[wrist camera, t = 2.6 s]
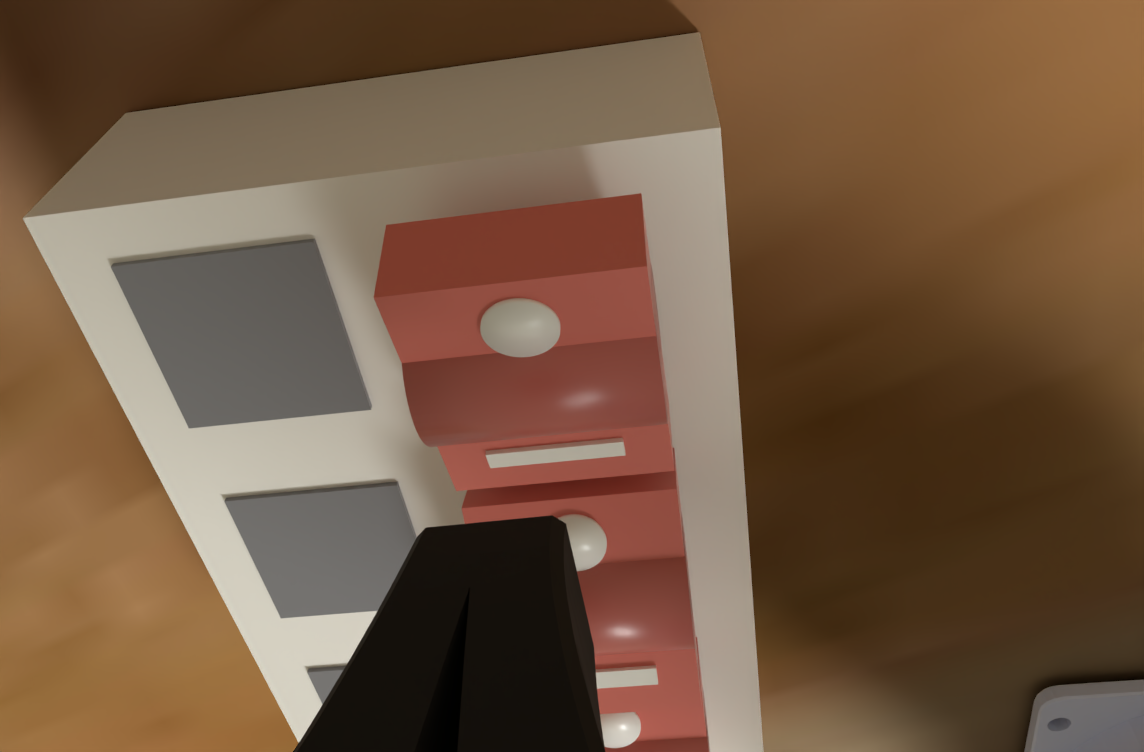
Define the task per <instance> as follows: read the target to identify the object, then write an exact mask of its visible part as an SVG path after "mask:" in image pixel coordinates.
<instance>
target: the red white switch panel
mask: <svg viewBox="0 0 1144 752" xmlns="http://www.w3.org/2000/svg"><path fill="white" fill-rule="evenodd" d="M640 193H641V194H642V202H643V209H644V217H645V224H646V232H647V240H648V247H649V255H650V263H651V265H652V271H653V278H654V285H655V293H656V301H657V309H658V318H659V327H660V336H661V346H662V354H663V362H664V370H665V377H666V385H667V393H668V400H669V411H670V423H671V435H672V447H673V448H674V450H675V459H676V468H677V477H678V485H679V494H680V503H681V512H682V518H683V525H684V533H685V542H686V551H687V560H688V570H689V579H690V590H691V600H692V609H693V617H694V626H695V635H696V637H697V641H698V650H699V659H700V667H701V676H702V685H703V691H704V699H705V707H706V717H707V726H708V736H709V746H710V752H763V739H762V725H761V710H760V695H759V681H758V666H757V652H756V637H755V622H754V608H753V593H752V579H751V564H750V549H749V535H748V520H747V506H746V491H745V476H744V462H743V447H742V433H741V418H740V403H739V389H738V374H737V360H736V345H735V330H734V316H733V301H732V287H731V272H730V257H729V243H728V228H727V214H726V199H725V184H724V170H723V155H722V140H721V127H720V122H719V118H718V113H717V109H716V104H715V99H714V95H713V90H712V86H711V81H710V77H709V72H708V67H707V63H706V58H705V54H704V49H703V44H702V40H701V35H700V32H697V33H690V34H683V35H676V36H669V37H662V38H655V39H648V40H640V41H633V42H626V43H619V44H612V45H605V46H598V47H591V48H584V49H577V50H569V51H562V52H555V53H548V54H541V55H534V56H527V57H520V58H513V59H505V60H498V61H491V62H484V63H477V64H470V65H463V66H456V67H449V68H442V69H434V70H427V71H420V72H413V73H406V74H399V75H392V76H385V77H378V78H370V79H363V80H356V81H349V82H342V83H335V84H328V85H321V86H314V87H307V88H299V89H292V90H285V91H278V92H271V93H264V94H257V95H250V96H243V97H235V98H228V99H221V100H214V101H207V102H200V103H193V104H186V105H179V106H172V107H164V108H157V109H150V110H143V111H136V112H129V113H125V114H124V115H123V116H122V117H121V118H120V119H119V120H118V121H117V122H116V123H115V124H114V125H113V126H112V127H111V128H110V129H109V130H108V131H107V133H106V134H105V135H104V136H103V137H102V138H101V139H100V140H99V141H98V142H97V143H96V144H95V145H94V146H93V147H92V148H91V149H90V150H89V151H88V152H87V153H86V154H85V155H84V156H83V157H82V158H81V159H80V160H79V161H78V162H77V163H76V164H75V165H74V166H73V167H72V168H71V169H70V170H69V171H68V172H67V173H66V174H65V175H64V176H63V177H62V178H61V179H60V180H59V181H58V182H57V183H56V184H55V186H54V187H53V188H52V189H51V190H50V191H49V192H48V193H47V194H46V195H45V196H44V197H43V198H42V199H41V200H40V201H39V202H38V203H37V204H36V205H35V206H34V207H33V208H32V209H31V210H30V211H29V212H28V213H27V214H26V215H25V216H24V217H23V220H24V222H25V224H26V226H27V227H28V229H29V231H30V233H31V235H32V237H33V239H34V241H35V243H36V245H37V246H38V248H39V250H40V252H41V254H42V256H43V258H44V260H45V262H46V264H47V265H48V267H49V269H50V271H51V273H52V275H53V277H54V279H55V281H56V283H57V284H58V286H59V288H60V290H61V292H62V294H63V296H64V298H65V300H66V302H67V303H68V305H69V307H70V309H71V311H72V313H73V315H74V317H75V319H76V321H77V322H78V324H79V326H80V328H81V330H82V332H83V334H84V336H85V338H86V340H87V341H88V343H89V345H90V347H91V349H92V351H93V353H94V355H95V357H96V359H97V360H98V362H99V364H100V366H101V368H102V370H103V372H104V374H105V376H106V378H107V379H108V381H109V383H110V385H111V387H112V389H113V391H114V393H115V395H116V397H117V398H118V400H119V402H120V404H121V406H122V408H123V410H124V412H125V414H126V416H127V418H128V419H129V421H130V423H131V425H132V427H133V429H134V431H135V433H136V435H137V437H138V438H139V440H140V442H141V444H142V446H143V448H144V450H145V452H146V454H147V456H148V457H149V459H150V461H151V463H152V465H153V467H154V469H155V471H156V473H157V475H158V476H159V478H160V480H161V482H162V484H163V486H164V488H165V490H166V492H167V494H168V495H169V497H170V499H171V501H172V503H173V505H174V507H175V509H176V511H177V513H178V514H179V516H180V518H181V520H182V522H183V524H184V526H185V528H186V530H187V532H188V533H189V535H190V537H191V539H192V541H193V543H194V545H195V547H196V549H197V551H198V552H199V554H200V556H201V558H202V560H203V562H204V564H205V566H206V568H207V570H208V571H209V573H210V575H211V577H212V579H213V581H214V583H215V585H216V587H217V589H218V590H219V592H220V594H221V596H222V598H223V600H224V602H225V604H226V606H227V608H228V609H229V611H230V613H231V615H232V617H233V619H234V621H235V623H236V625H237V627H238V628H239V630H240V632H241V634H242V636H243V638H244V640H245V642H246V644H247V646H248V647H249V649H250V651H251V653H252V655H253V657H254V659H255V661H256V663H257V665H258V666H259V668H260V670H261V672H262V674H263V676H264V678H265V680H266V682H267V684H268V685H269V687H270V689H271V691H272V693H273V695H274V697H275V699H276V701H277V703H278V704H279V706H280V708H281V710H282V712H283V714H284V716H285V718H286V720H287V722H288V723H289V725H290V727H291V729H292V731H293V733H294V735H295V737H296V739H297V741H298V743H299V742H300V740H301V739H302V737H303V736H304V734H305V732H306V731H307V729H308V728H309V726H310V724H311V723H312V721H313V719H314V718H315V716H316V715H317V713H318V711H319V710H320V708H321V706H322V705H323V703H324V701H325V700H326V698H327V696H328V695H329V693H330V691H331V690H332V688H333V686H334V685H335V683H336V682H337V680H338V678H339V677H340V675H341V673H342V672H343V670H344V668H345V667H346V665H347V663H348V662H349V660H350V658H351V657H352V655H353V653H354V651H355V650H356V648H357V646H358V644H359V643H360V641H361V639H362V637H363V636H364V634H365V632H366V630H367V629H368V627H369V625H370V623H371V622H372V620H373V618H374V616H375V614H376V613H377V611H378V609H379V607H380V605H381V604H382V602H383V600H384V598H385V596H386V595H387V593H388V591H389V589H390V587H391V585H392V583H393V582H394V580H395V578H396V576H397V574H398V572H399V570H400V568H401V567H402V565H403V563H404V561H405V559H406V557H407V555H408V553H409V551H410V549H411V547H412V546H413V544H414V542H415V540H416V538H417V536H418V535H419V534H420V533H421V532H422V531H423V530H424V529H425V528H426V527H437V526H447V525H457V524H465V523H464V518H463V513H462V509H461V508H462V505H463V502H464V498H465V495H466V492H467V490H463V491H456V489H455V487H454V484H453V482H452V480H451V477H450V475H449V473H448V470H447V468H446V466H445V463H444V461H443V459H442V456H441V454H440V452H439V449H438V447H428V446H426V445H425V444H424V443H423V442H422V440H421V439H420V437H419V435H418V433H417V431H416V429H415V426H414V423H413V420H412V417H411V414H410V410H409V406H408V402H407V398H406V392H405V387H404V380H403V372H402V363H401V361H400V358H399V356H398V354H397V351H396V349H395V347H394V344H393V342H392V340H391V337H390V335H389V333H388V330H387V328H386V326H385V323H384V321H383V319H382V316H381V314H380V312H379V309H378V307H377V305H376V302H375V300H374V292H375V286H376V280H377V275H378V269H379V263H380V257H381V251H382V245H383V240H384V234H385V228H386V225H389V224H397V223H405V222H413V221H421V220H430V219H438V218H446V217H454V216H462V215H470V214H478V213H486V212H494V211H502V210H510V209H519V208H527V207H535V206H543V205H551V204H559V203H567V202H575V201H583V200H591V199H599V198H607V197H616V196H624V195H632V194H640Z"/></svg>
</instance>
